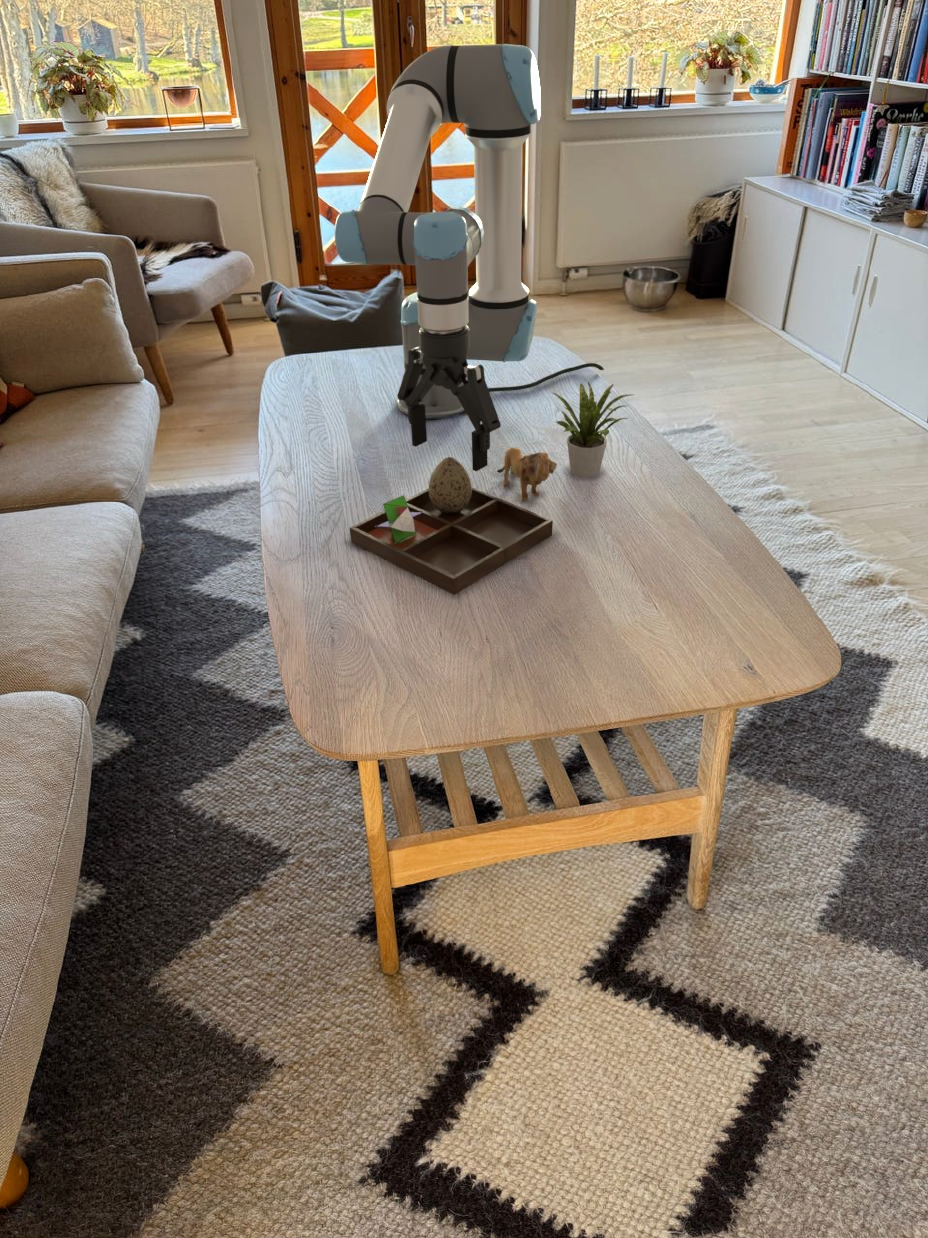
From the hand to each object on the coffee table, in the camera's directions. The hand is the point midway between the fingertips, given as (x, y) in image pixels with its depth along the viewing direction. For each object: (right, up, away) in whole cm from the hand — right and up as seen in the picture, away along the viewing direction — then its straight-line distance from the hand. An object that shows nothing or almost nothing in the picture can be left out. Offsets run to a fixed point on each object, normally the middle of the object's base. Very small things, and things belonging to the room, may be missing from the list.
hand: (449, 455), depth 153 cm
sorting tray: (0, -14, 0) cm, 14 cm away
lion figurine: (+13, -4, +13) cm, 19 cm away
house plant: (+26, 0, +18) cm, 31 cm away
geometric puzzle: (-8, -13, -1) cm, 16 cm away
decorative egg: (0, -9, +6) cm, 10 cm away
